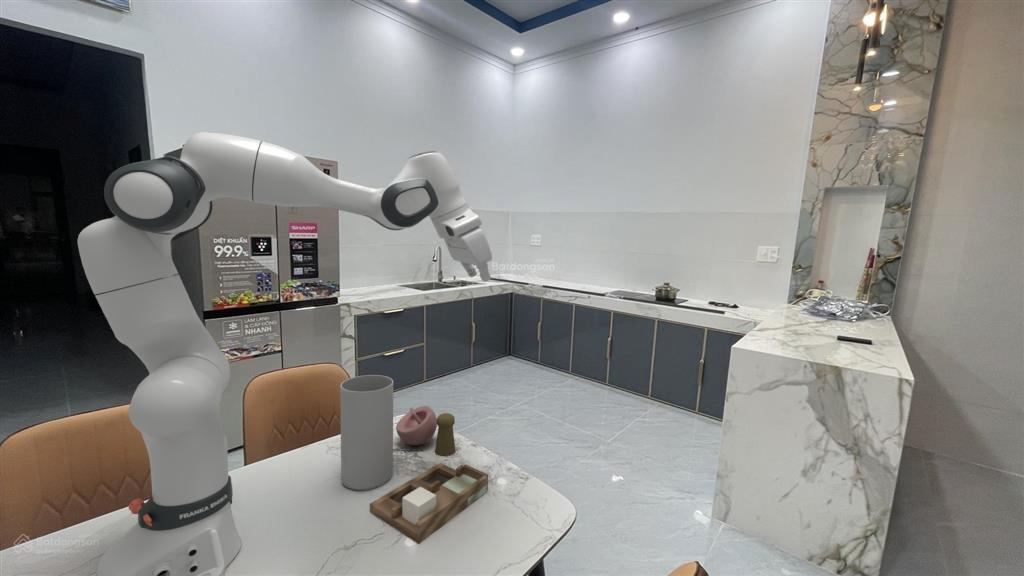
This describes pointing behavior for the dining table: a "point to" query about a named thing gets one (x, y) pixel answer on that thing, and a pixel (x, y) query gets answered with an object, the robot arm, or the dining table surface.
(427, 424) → the mortar and pestle
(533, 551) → the dining table surface
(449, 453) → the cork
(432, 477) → the box
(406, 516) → the block
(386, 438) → the cylinder vase
